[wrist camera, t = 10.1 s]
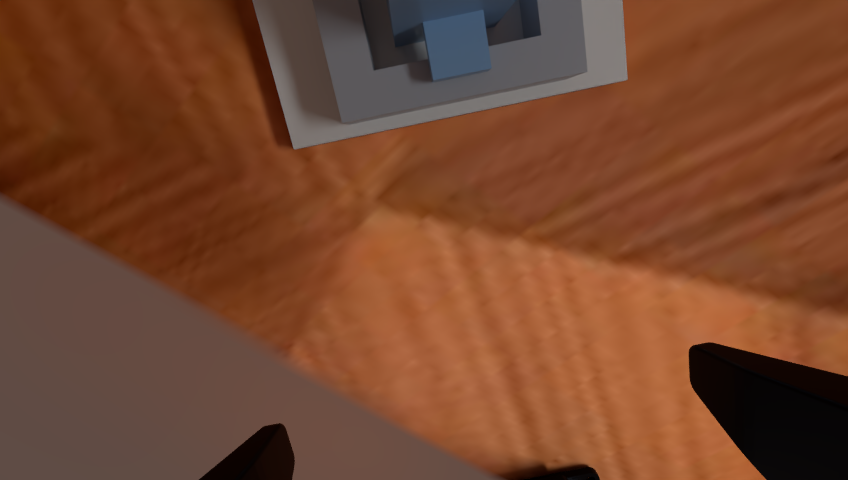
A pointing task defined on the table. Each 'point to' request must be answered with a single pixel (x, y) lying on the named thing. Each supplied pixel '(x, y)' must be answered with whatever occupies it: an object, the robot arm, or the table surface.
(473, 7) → the block
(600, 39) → the plate
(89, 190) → the table surface
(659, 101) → the table surface
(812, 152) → the table surface
